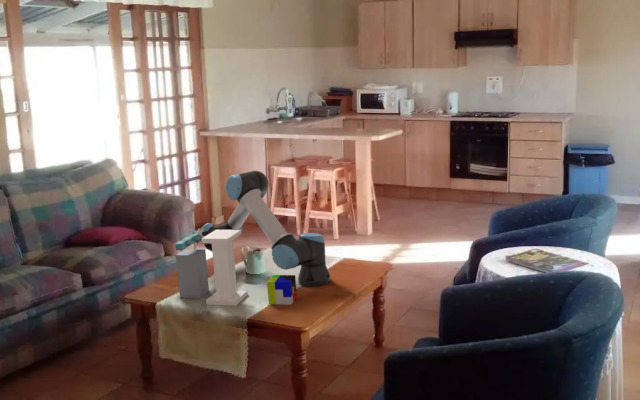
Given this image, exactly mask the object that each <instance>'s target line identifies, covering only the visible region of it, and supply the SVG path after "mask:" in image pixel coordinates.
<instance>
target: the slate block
mask: <svg viewBox="0 0 640 400" xmlns="http://www.w3.org/2000/svg"><path fill="white" fill-rule="evenodd" d="M206 252H207V251H206V249H203V248H198V249H197V248H185V249H184V250H181V251H180V252H178V253H177V254H175V261H176V263H175V264H176V273H177V281H178V291H179V292H178V293H179V298H180V297H184V299H201V298H202V297H204V296H205V295H206V294H207V293H209V292H210V288H209V287H210V285H209V275H208V274H209V273H208V265H207V264H208V262H207V253H206ZM208 291H209V292H208Z"/></svg>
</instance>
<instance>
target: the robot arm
mask: <svg viewBox="0 0 640 400" xmlns="http://www.w3.org/2000/svg"><path fill="white" fill-rule="evenodd" d="M269 185H270V184H269V179H268V177H267V176H266V175H265V173H263V172H262V171H260V170H250V171H246V172H242V173H236V174H233V175H230V176H229V177H227V180H226V183H225V194H227V195H226V196H227V197H228V199H230V200H232V201H237V202H238V204H237V206H236V207H235V209H234V210H233V212H232V214H231V215H230V217H229V218H228V219H227V221H226V223H223V224H220V225H219V224H218V225H216V226H215V225H214V224H213V223H212V222H207V223H205V224H204V225H202V227H200V228H198V229H197V230H195V229H194V228H190V232H189V235H191V234H193V233H194V232H196V231H198V233H197V234H198V235H199V236H201V237H202V238H203V237H205V236H207V235H208V234H210V233H211V232H213V231H215V230H241V234H243V233H242V232H243V225H244V223H245V221H246V220H247V219H248V217H249V216H252V218H253V219H254V220H255V223H257V225H258V227H259V228H260V229H261V231H262V232H263V233H264V235H265V236H266V237H267V239H268V241H270V243H271V250H272V251H271V256H272V260H273V262H274V264H275V265H276V266H277V267H278V268H279V269H281V270H292V269H296V268H297V267H300V269H299V274H298V276H297V282H298V284H299V285H300V286H305V287H319V286H320V287H321V286H324V285H326V284H329V283H330V282H331V275H330V272H329V269H328V267H327V264H326V247H325V246H326V242H325V237H324V235H323V234H321V233H316V232H303V233H300V234H299V235H298V239H297V238H296V237H295V236H294V235H293V233H288V232H287V231H286V229H285V228H284V226H283V225H282V224H281V222H280V221H279V219H278V218H277V217H276V215H275V214H274V213H273V212H272V209H271V208H270V207H269V206H268V204H267V203H266V201H264V197H265V195H266V194H267V193H268V191H269V187H270V186H269ZM201 229H206V233H205V232H204V231H202V230H201ZM202 238H201V239H202ZM201 239H200V240H198V241H197V242H195V244H199V243H201V244H203V245H204V246H205V248H206V249H207V250H208V251H210V252H212V243H202V240H201Z"/></svg>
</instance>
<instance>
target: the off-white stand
mask: <svg viewBox="0 0 640 400" xmlns="http://www.w3.org/2000/svg"><path fill="white" fill-rule="evenodd" d="M241 235H242V233H241V230H215V231H213V232H211V233H210V234H208V235H207V236H205V237H203V238H202V239H201V240H202V243H201V244H203V243H212V251H211V252H212V261H213V262H212V263H213V271H214V272H213V274H214V282H215V285H214V286H215V292H214V293H212V294H211V295H210V296H209V297H208V298H207V299H206V300H205V302H206V305H213V306H237V305H239V304H240V303H241V302H242V301H243V300H244V299H245V298H246V297H247V296H248V295H249V294H248V290H241V289H239V290H238V287H237V273H236V264H235V263H236V262H235V251H234V250H235V249H234V240H235V239H237V238H238V237H239V236H241Z"/></svg>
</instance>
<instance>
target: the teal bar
mask: <svg viewBox="0 0 640 400" xmlns="http://www.w3.org/2000/svg"><path fill="white" fill-rule="evenodd" d="M200 229H201V228H200ZM201 230H202V231H204V232H205V233H206V229H201ZM195 231H196V232H194V233H193V234H189V235H188V236H186V237H184V238H183V239H181V240H179V241H177V242H176V243H175V244H174V245H175V246H174V247H175V251H183V250H185V249H188V247H190V246H191V245H194V244H196V242H197V241H198V240H200V239H201V238H202V237H201V236H199V235H198V234H197V233H198V230H195Z"/></svg>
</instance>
